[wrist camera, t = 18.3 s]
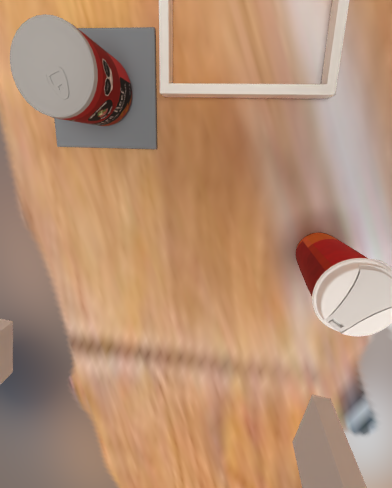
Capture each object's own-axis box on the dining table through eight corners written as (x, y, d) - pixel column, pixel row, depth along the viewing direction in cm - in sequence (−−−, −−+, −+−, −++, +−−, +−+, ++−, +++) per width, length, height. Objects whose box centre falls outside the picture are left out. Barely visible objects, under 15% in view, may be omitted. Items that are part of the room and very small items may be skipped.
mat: (155, 29, 34) (154, 27, 33) (157, 149, 38) (156, 149, 37) (47, 30, 35) (44, 28, 35) (59, 146, 39) (57, 146, 39)
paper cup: (316, 289, 41) (358, 356, 28) (275, 255, 40) (297, 306, 27) (361, 249, 39) (429, 300, 26) (318, 211, 38) (366, 244, 25)
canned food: (102, 139, 38) (53, 136, 27) (59, 84, 36) (-10, 58, 26) (147, 98, 36) (113, 77, 25) (103, 38, 34) (48, -11, 24)
